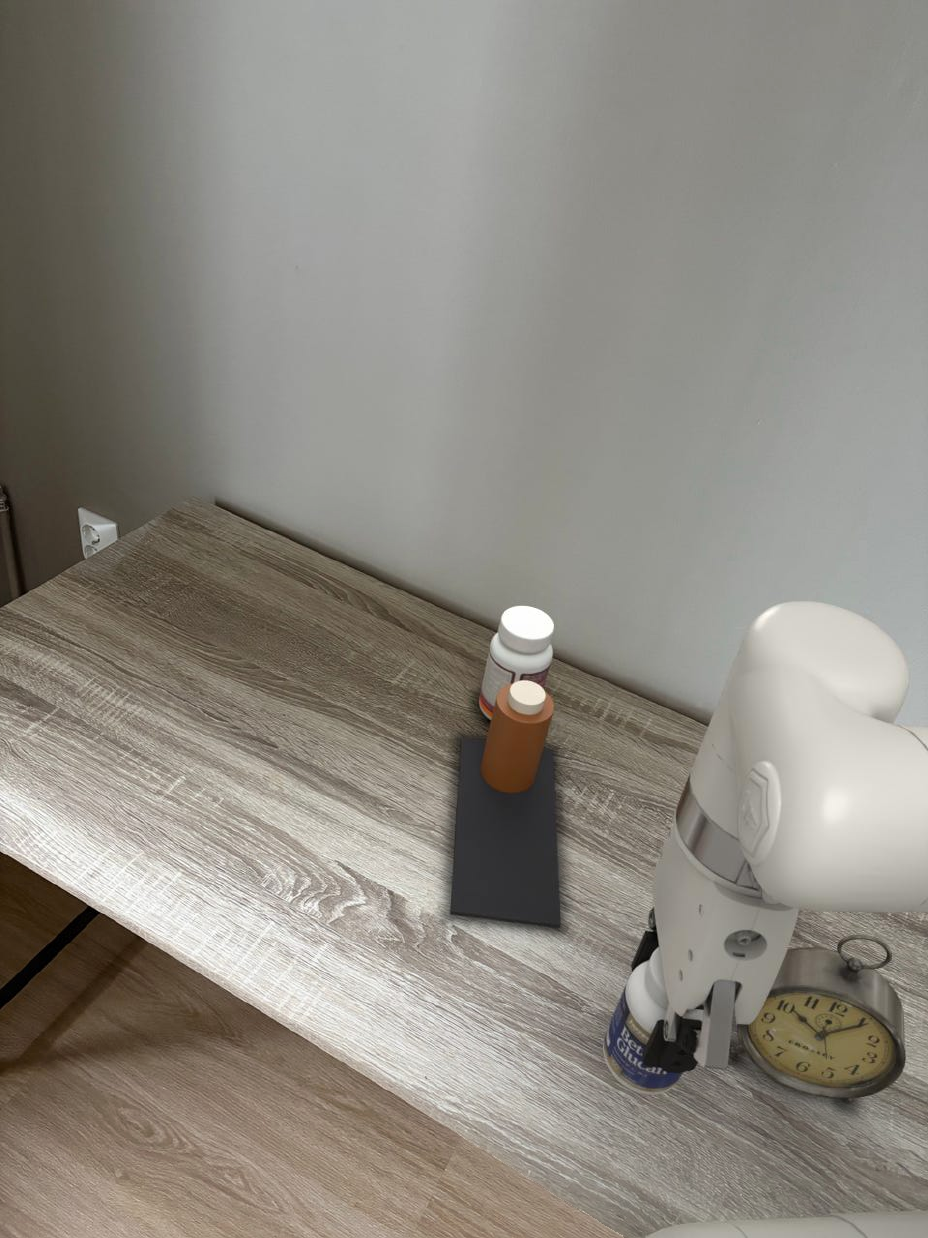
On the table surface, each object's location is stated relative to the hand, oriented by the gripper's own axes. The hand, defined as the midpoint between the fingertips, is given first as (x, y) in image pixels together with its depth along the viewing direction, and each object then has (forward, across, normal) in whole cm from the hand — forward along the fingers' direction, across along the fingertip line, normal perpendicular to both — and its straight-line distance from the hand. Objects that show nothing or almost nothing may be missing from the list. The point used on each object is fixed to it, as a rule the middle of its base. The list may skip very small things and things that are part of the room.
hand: (660, 1016), depth 62 cm
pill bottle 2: (+5, 0, 0) cm, 5 cm away
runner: (+11, +24, +8) cm, 28 cm away
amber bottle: (+10, +31, +8) cm, 33 cm away
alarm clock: (+12, +5, -14) cm, 19 cm away
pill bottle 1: (+11, +40, +8) cm, 42 cm away
